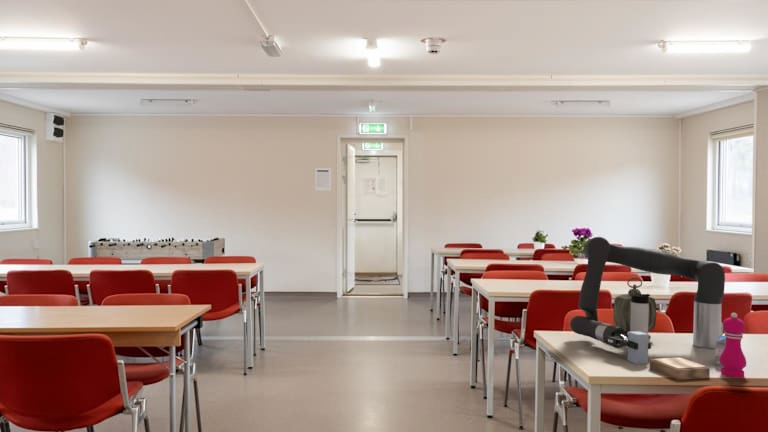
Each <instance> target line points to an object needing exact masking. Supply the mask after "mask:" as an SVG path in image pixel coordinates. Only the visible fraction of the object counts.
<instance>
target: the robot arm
mask: <svg viewBox="0 0 768 432" xmlns="http://www.w3.org/2000/svg"><path fill="white" fill-rule="evenodd" d="M583 253H584V255H585V257H587V266H586V272H585V275H584V279H583V281H582V285H581V287H580V292H579V297H578V306H577V307H578V309H580V310H582V311H583V312H584V313H585V316H583V315H575V316H574V317H572V318H571V320H570V323H569V327H570V329H571V331H572V332H573V333H575V334H578V335H580V336H585V337H589V338H591V339H594V340H596V341H598V342H601V343H603V344H605V345H608V346H610V347H613V348H616V349H621V348H627V349H628V348H629V347H630V348H632V349H635V350H638V343H636V342H633V341H629V340H628V334H627V332H626V331H625V329H623V328H621V327H618V326H616V325H615V324H611V323H605V322H602V321H599V317H598V303H599V296H600V290H601V285H602V278H603V274H604V269H605V266H606V263H613V264H617V265H621V266H624V267H628V268H631V269H635V270H639V271H643V272H648V273H652V274H657V275H669V276H678V277H683V278H686V279H689V280H692V281H696V282H697V290H696V292H695V294H694V297H693V331H692V333H693V334H692V345H693V346H695V347H697V348H704V349H711V350H713V349H715V350H716V341H717V340H718V339H719V338H720V337H722V336H723V335H724V328H723V321H722V301H723V298H724V294H725V285H726V282H725V281H726V275H725V274H726V273H725V270H724V268H723V266H722V265H720V263H717V262H715V261H709V260H702V259H700V260H699V259H690V258H684V257H680V256H677V255H674V254H671V253H668V252H666V251H662V250H657V249H653V248H648V247H647V248H646V247H640V246H639V247H638V246H622V245H621V246H620V245H616V244H613V243H610V242H609V241H608V240H607V239H606V238H605V237H602V236H596V237H592V238H591V239H588V240H587V241H586V242H585V243H584V245H583ZM651 348H652V343H651V342H649V341H648V350H651Z"/></svg>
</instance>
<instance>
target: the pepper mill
mask: <svg viewBox="0 0 768 432" xmlns="http://www.w3.org/2000/svg"><path fill="white" fill-rule="evenodd" d="M722 323H723V330H724V331H723V335H724V336H725V337H726V346H725V348H724V350H723V352H722V354H721V356H720V363H721V364H722V366H721V369H720V373H721V374H720V375H722V376H724V375H725V377H729V378H733V377H735V379H743V378H744V377H745V371H744V370H743V369H744V368H745V367H746V366H747V358H746V356H745V354H744V352H743V350H742V345H741V344H742V340H743V339H744V338H743V335H744V334H743V332H744V331H745V330H746V324H745V322H744V321H743V320H742V319H741V318H738V314H737V313H736V312H732V313H731V314H730V317H727V318H725V319H724V320H723V321H722ZM742 377H743V378H742Z"/></svg>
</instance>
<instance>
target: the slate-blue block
mask: <svg viewBox="0 0 768 432" xmlns="http://www.w3.org/2000/svg"><path fill="white" fill-rule="evenodd" d="M649 335H650V334H649V333H648V334H646V333H643V332H640V331H634V332H629V331H628V340H629V341H633V342H636V343H638V350H635V349H632V348H630V347H629V348H627V361H628V362H630V361H631V363H633V364H635V363H636V364H635V365H642V364H643V365H644V364H648V363H649V349H648V342H649V341H650V339H649Z"/></svg>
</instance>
